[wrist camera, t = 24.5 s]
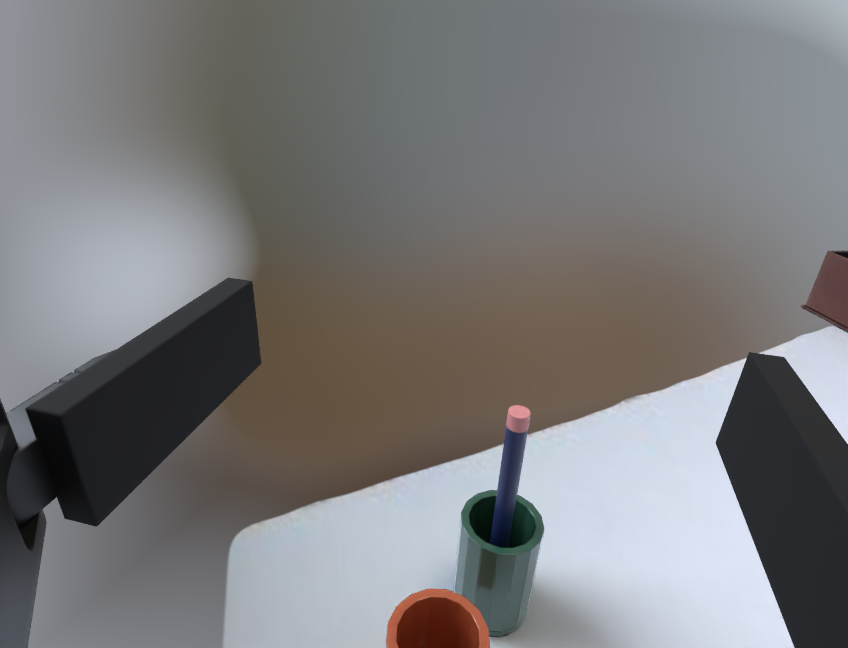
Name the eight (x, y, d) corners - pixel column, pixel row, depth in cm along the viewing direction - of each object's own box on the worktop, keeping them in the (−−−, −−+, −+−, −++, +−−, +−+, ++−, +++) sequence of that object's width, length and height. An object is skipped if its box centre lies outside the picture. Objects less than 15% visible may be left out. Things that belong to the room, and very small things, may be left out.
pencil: (479, 599, 43) (505, 414, 34) (485, 585, 44) (511, 402, 35) (497, 607, 42) (527, 420, 34) (502, 592, 43) (533, 408, 35)
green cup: (441, 617, 42) (449, 535, 38) (467, 558, 47) (476, 480, 43) (516, 649, 40) (533, 567, 36) (534, 584, 45) (551, 505, 41)
